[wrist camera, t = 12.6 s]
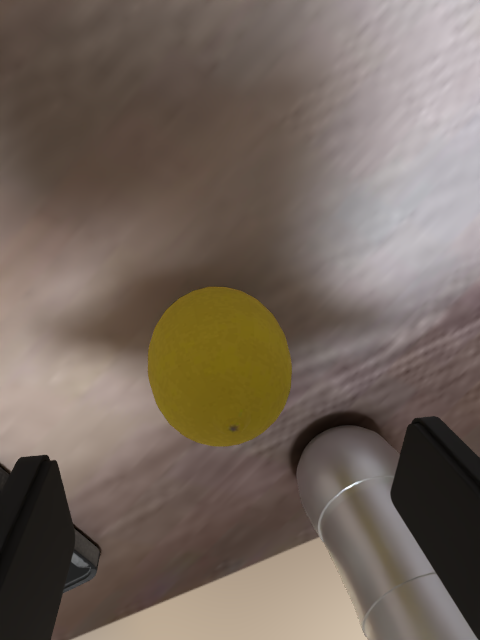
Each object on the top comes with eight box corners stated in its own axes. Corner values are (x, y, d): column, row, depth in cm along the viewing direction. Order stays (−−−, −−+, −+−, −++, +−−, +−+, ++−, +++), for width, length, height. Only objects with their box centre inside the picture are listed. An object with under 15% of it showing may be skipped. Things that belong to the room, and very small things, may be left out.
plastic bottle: (365, 393, 22) (1260, 1525, 4) (393, 461, 25) (964, 1269, 7) (270, 440, 22) (681, 1677, 4) (309, 502, 25) (644, 1372, 7)
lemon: (132, 335, 18) (103, 460, 10) (192, 241, 16) (207, 312, 9) (224, 381, 20) (253, 512, 13) (285, 300, 18) (357, 397, 11)
